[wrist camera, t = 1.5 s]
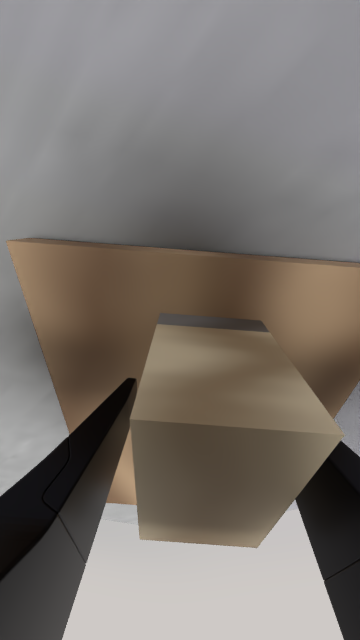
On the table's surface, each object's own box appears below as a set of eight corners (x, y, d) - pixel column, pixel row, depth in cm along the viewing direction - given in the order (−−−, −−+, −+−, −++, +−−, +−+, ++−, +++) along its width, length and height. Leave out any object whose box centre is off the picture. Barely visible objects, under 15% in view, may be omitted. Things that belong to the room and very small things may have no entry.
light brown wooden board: (401, 266, 8) (433, 273, 7) (263, 497, 19) (268, 514, 17) (29, 237, 8) (5, 240, 7) (97, 485, 18) (92, 501, 17)
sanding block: (261, 320, 8) (344, 435, 4) (230, 422, 12) (257, 547, 7) (160, 312, 8) (129, 419, 4) (157, 417, 12) (139, 539, 7)
